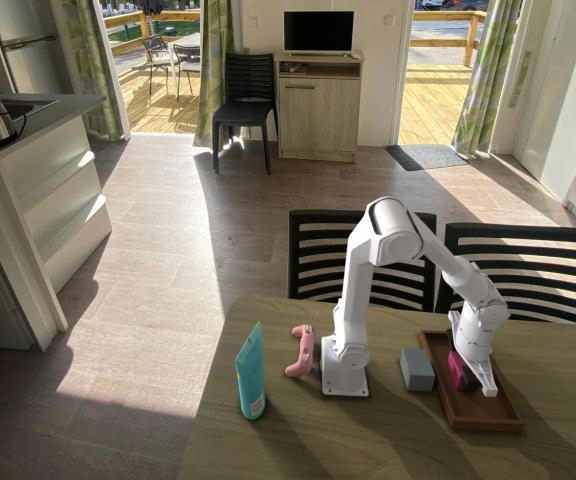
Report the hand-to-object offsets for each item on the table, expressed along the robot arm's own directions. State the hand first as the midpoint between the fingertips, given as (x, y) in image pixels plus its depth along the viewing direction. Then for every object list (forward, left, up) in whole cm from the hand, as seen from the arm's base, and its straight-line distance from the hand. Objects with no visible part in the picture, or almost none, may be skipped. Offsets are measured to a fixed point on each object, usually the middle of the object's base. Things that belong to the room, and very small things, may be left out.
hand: (462, 374), depth 64 cm
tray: (0, 0, -1) cm, 1 cm away
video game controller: (-35, +3, -2) cm, 35 cm away
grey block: (-10, 0, -1) cm, 10 cm away
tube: (-45, -6, -2) cm, 45 cm away
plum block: (0, 0, -1) cm, 1 cm away
